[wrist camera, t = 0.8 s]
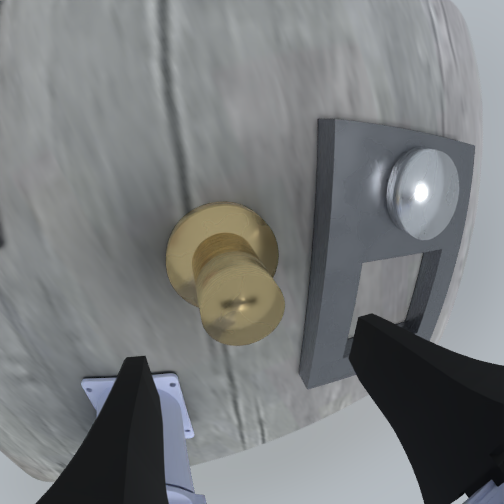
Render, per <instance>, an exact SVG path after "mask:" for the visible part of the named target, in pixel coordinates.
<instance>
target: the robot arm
mask: <svg viewBox="0 0 504 504" xmlns="http://www.w3.org/2000/svg"><path fill="white" fill-rule="evenodd" d="M348 359H349V361H350V363H351V365H352V367H353V369H354V371H355V373H356V375H357V377H358V379H359V380H360V382H361V383H362V385H363V386H364V388H365V389H366V391H367V392H368V393H369V395H370V396H371V398H372V399H373V400H374V402H375V403H376V405H377V406H378V407H379V409H380V410H381V412H382V413H383V414H384V416H385V417H386V419H387V420H388V422H389V423H390V425H391V426H392V428H393V429H394V431H395V433H396V435H397V437H398V438H399V440H400V442H401V444H402V446H403V448H404V450H405V452H406V454H407V456H408V459H409V461H410V463H411V465H412V468H413V470H414V473H415V475H416V478H417V481H418V483H419V487H420V490H421V493H422V497H423V500H424V504H451V503H452V502H454V501H455V500H457V499H458V498H459V497H461V496H462V495H463V494H464V493H466V495H467V496H468V498H469V499H467V500H466V501H465V502H464V503H463V504H504V366H502V365H497V364H492V363H488V362H484V361H479V360H476V359H473V358H470V357H467V356H464V355H461V354H458V353H456V352H453V351H450V350H448V349H446V348H443V347H441V346H439V345H436V344H434V343H432V342H430V341H428V340H426V339H424V338H422V337H420V336H417V335H415V334H413V333H411V332H409V331H407V330H405V329H404V328H402V327H400V326H398V325H396V324H394V323H392V322H390V321H388V320H385V319H383V318H381V317H379V316H377V315H374V314H368V315H365V316H361V317H358V321H357V325H356V330H355V334H354V338H353V343H352V347H351V351H350V355H349V358H348ZM81 385H82V387H83V389H84V391H85V392H86V394H87V396H88V398H89V399H90V401H91V403H92V404H93V406H94V408H95V409H96V411H97V415H96V420H95V422H94V424H93V425H92V427H91V429H90V431H89V433H88V434H87V436H86V438H85V439H84V441H83V443H82V444H81V446H80V448H79V449H78V451H77V452H76V454H75V455H74V457H73V458H72V460H71V461H70V463H69V464H68V465H67V467H66V468H65V469H64V471H63V472H62V473H61V475H60V476H59V477H58V479H57V480H56V481H55V482H54V484H53V485H52V486H51V487H50V489H49V490H48V491H47V492H46V493H45V494H44V495H43V496H42V497H41V498H40V499H39V501H38V502H37V503H36V504H207V503H206V499H205V495H200V494H195V492H194V487H193V481H192V476H191V471H190V465H189V459H188V453H187V447H186V440H185V439H186V438H192V437H194V431H193V428H192V425H191V422H190V418H189V415H188V412H187V408H186V405H185V401H184V398H183V394H182V391H181V387H180V383H179V380H178V376H177V375H176V374H173V373H167V374H157V375H152V374H151V371H150V368H149V365H148V362H147V359H146V356H137V357H127V358H126V359H125V360H124V362H123V365H122V367H121V369H120V371H119V374H118V376H117V378H91V379H83V380H82V382H81Z"/></svg>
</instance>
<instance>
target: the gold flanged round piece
mask: <svg viewBox="0 0 504 504" xmlns="http://www.w3.org/2000/svg"><path fill="white" fill-rule="evenodd" d="M278 257H279V254H278V245H277V241H276V238H275V236H274V234H273V232H272V230H271V229H270V227H269V226H268V225H267V224H266V223H265V222H264V220H263V219H262V218H261V217H260V216H259V215H258V214H256V213H255V212H254V211H253V210H251V209H249V208H247V207H245V206H243V205H241V204H237V203H233V202H213V203H208V204H205V205H202V206H200V207H197V208H195V209H194V210H192V211H190V212H189V213H188V214H186V215H185V216H184V217H183V218H182V219H181V220H180V221H179V222H178V223H177V225H176V226H175V227H174V229H173V231H172V233H171V235H170V237H169V240H168V244H167V250H166V270H167V274H168V278H169V280H170V283H171V284H172V286H173V288H174V289H175V291H176V292H177V293H178V294H179V295H180V296H181V297H182V298H183V299H184V300H186V301H187V302H188V303H190V304H192V305H194V306H196V307H199V309H200V314H201V320H202V324H203V327H204V329H205V330H206V332H207V333H208V334H209V335H210V336H211V337H212V338H213V339H215V340H216V341H218V342H220V343H223V344H227V345H233V346H241V345H247V344H251V343H254V342H257V341H259V340H261V339H263V338H265V337H266V336H267V335H269V334H270V333H271V332H272V331H273V330H274V329H275V328H276V327H277V325H278V324H279V322H280V321H281V319H282V316H283V313H284V308H285V301H284V297H283V294H282V292H281V290H280V289H279V287H278V286H277V284H276V283H275V281H274V280H273V277H274V274H275V272H276V269H277V265H278Z"/></svg>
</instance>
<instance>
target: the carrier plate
mask: <svg viewBox="0 0 504 504" xmlns="http://www.w3.org/2000/svg"><path fill="white" fill-rule="evenodd" d="M474 154H475V146H474V145H471V144H467V143H464V142H460V141H456V140H452V139H448V138H444V137H440V136H436V135H432V134H427V133H423V132H418V131H413V130H408V129H402V128H397V127H391V126H385V125H379V124H372V123H365V122H357V121H349V120H340V119H318V155H317V182H316V202H315V220H314V234H313V248H312V260H311V272H310V283H309V293H308V302H307V312H306V321H305V329H304V337H303V345H302V353H301V360H300V367H299V375H300V377H301V379H302V380H303V382H304V384H305V386H306V388H307V389H310V388H314V387H318V386H321V385H324V384H328V383H331V382H334V381H338V380H341V379H344V378H347V377H350V376H353V375H356V373H355V371H354V369H353V367H352V365H351V363H350V361H349V359H348V358H349V355H350V351H351V347H352V343H353V338H350V339H347V338H348V334H349V329H350V325H351V320H352V316H353V311H354V306H355V301H356V296H357V291H358V285H359V280H360V274H361V268H362V263H364V262H370V261H376V260H382V259H388V258H394V257H400V256H406V255H412V254H417V253H423V252H424V254H423V258H422V263H421V267H420V271H419V275H418V279H417V283H416V287H415V290H414V294H413V298H412V301H411V304H410V308H409V311H408V314H407V317H406V321H405V322H402V323H399V324H396V325H398V326H400V327H402V328H404V329H405V330H407V331H409V332H411V333H413V334H415V335H417V336H420V337H422V338H424V339H426V340H428V341H430V338H431V336H432V333H433V331H434V328H435V325H436V323H437V320H438V317H439V315H440V312H441V309H442V306H443V303H444V300H445V297H446V294H447V291H448V288H449V285H450V281H451V278H452V274H453V271H454V267H455V264H456V260H457V256H458V252H459V248H460V244H461V239H462V235H463V230H464V225H465V220H466V215H467V209H468V203H469V197H470V190H471V183H472V175H473V165H474Z"/></svg>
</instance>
